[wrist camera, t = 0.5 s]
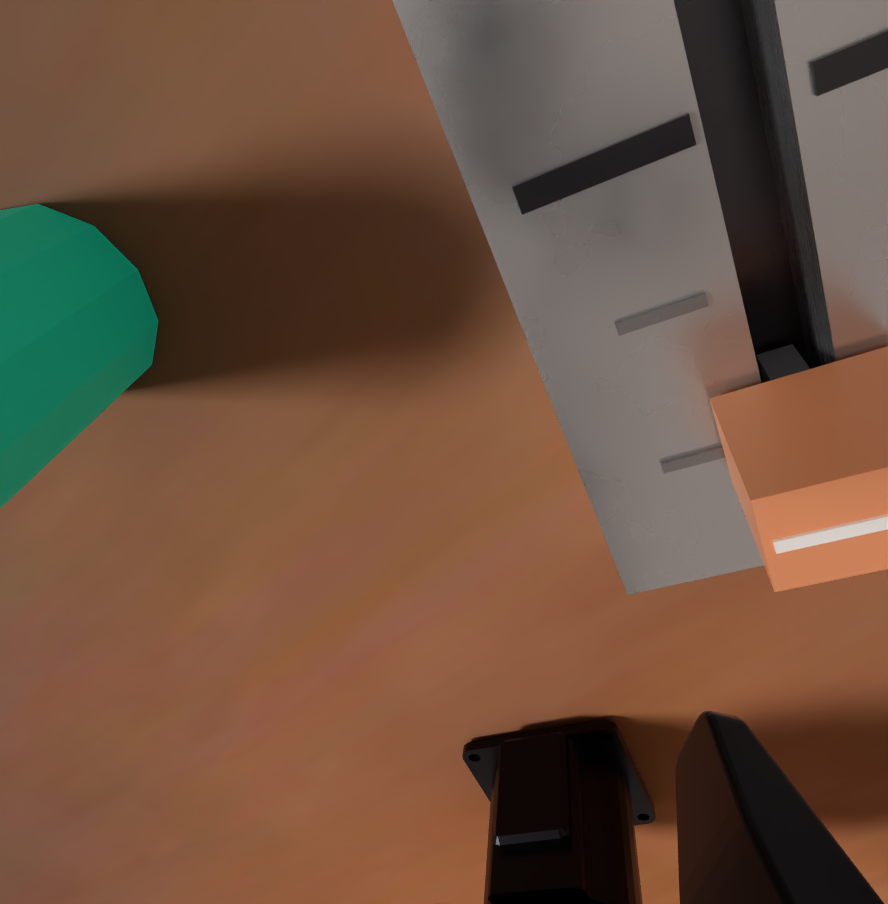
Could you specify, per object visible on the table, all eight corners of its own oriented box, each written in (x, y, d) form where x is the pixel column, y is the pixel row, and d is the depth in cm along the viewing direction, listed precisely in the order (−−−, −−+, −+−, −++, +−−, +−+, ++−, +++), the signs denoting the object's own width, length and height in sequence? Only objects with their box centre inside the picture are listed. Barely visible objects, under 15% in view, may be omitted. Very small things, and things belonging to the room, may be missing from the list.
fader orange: (865, 379, 19) (1005, 547, 13) (710, 423, 20) (775, 594, 14) (853, 297, 18) (1000, 441, 12) (689, 349, 19) (751, 502, 13)
